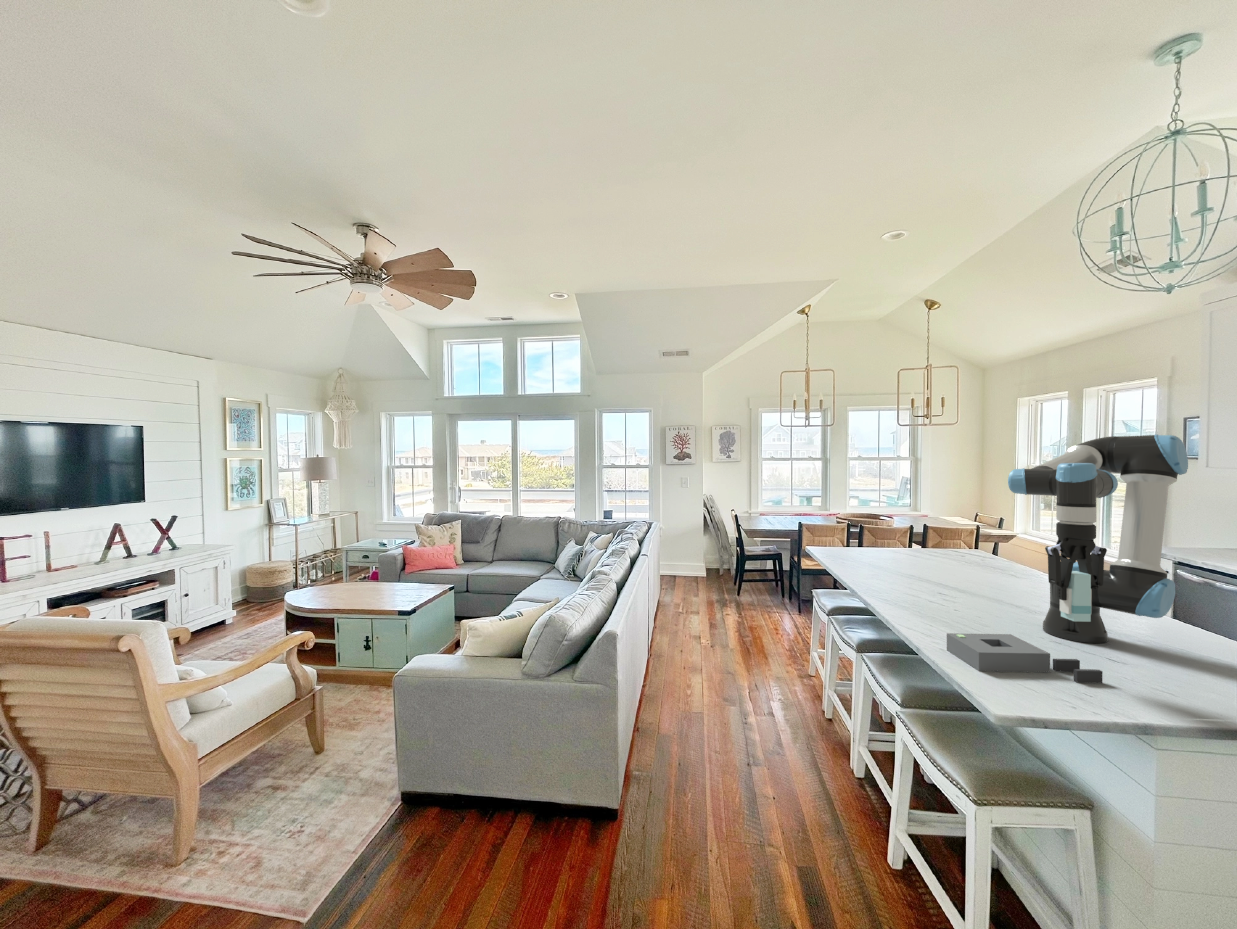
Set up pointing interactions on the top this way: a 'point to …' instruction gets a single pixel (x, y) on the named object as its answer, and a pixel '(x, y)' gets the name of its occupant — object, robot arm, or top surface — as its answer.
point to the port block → (998, 653)
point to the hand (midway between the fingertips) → (1075, 612)
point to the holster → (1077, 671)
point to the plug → (1080, 597)
